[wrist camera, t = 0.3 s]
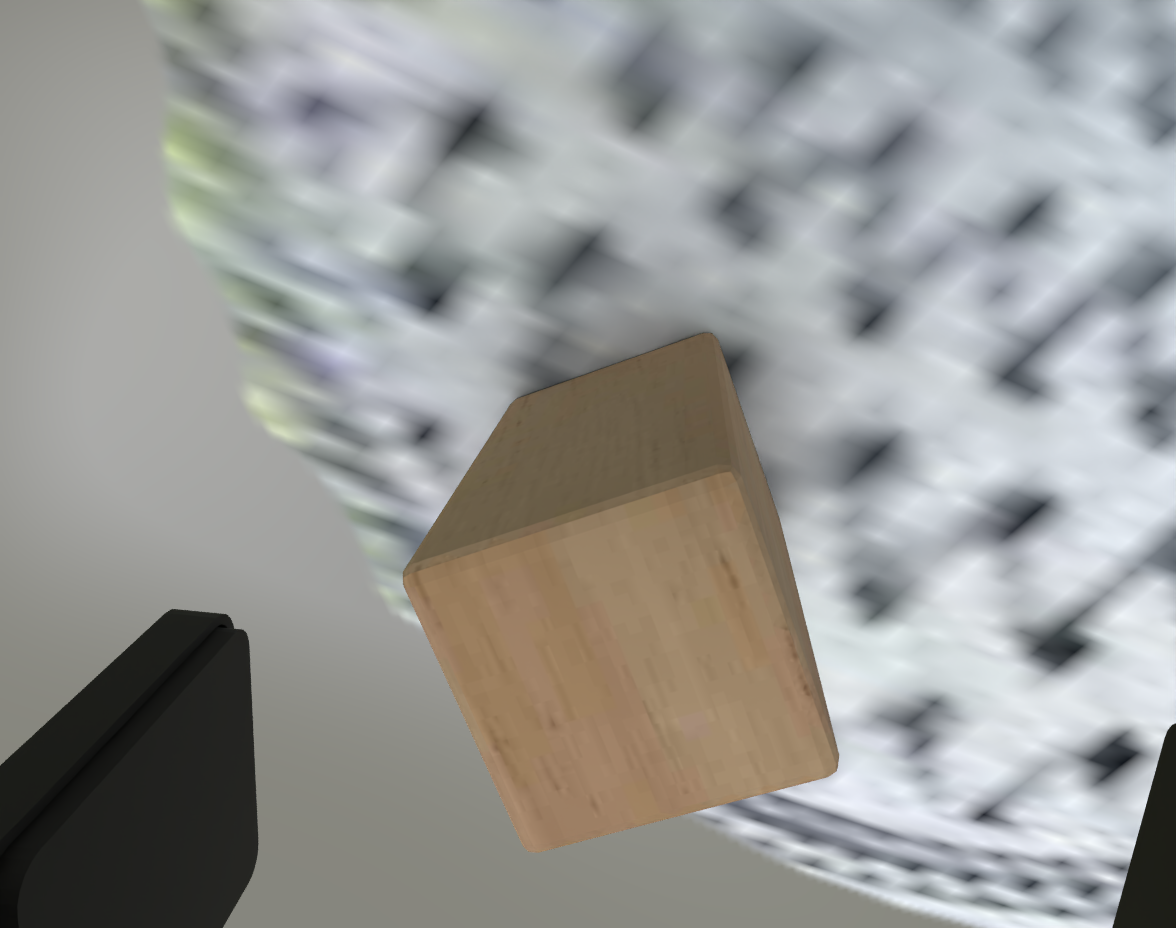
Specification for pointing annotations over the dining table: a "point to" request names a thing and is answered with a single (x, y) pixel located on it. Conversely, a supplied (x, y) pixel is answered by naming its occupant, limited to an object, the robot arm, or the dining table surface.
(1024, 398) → the dining table surface
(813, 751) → the wooden block
